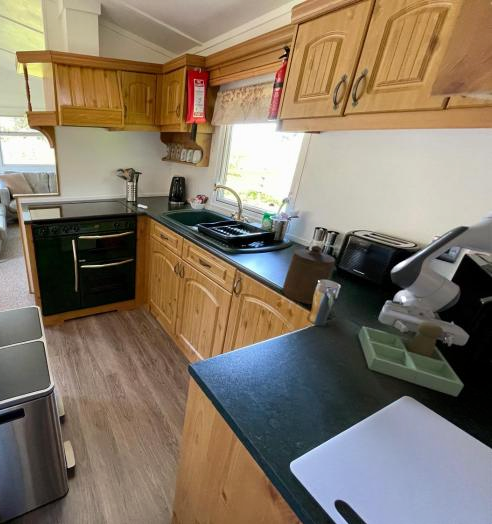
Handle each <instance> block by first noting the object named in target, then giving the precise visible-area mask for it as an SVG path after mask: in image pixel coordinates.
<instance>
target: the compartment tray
mask: <svg viewBox="0 0 492 524" xmlns="http://www.w3.org/2000/svg"><path fill="white" fill-rule="evenodd" d="M358 338H359V342H360V345H361V349H362V351H363V354H364V357H365V361H366V364H367V366H368V369H369V370H371V371H374V372H378V373H381V374H383V375H387V376H390V377H393V378H397V379H400V380H403V381H405V382H409V383H412V384H415V385H419V386H421V387H425V388H428V389H431V390H433V391H437V392H440V393H443V394H445V395H446V394H447V395H448V396H449V395H450V396H453V397H456V398H458V396H459V394H460V393H461V391H462V390H463V388H464V386H465V385H464V383H463V382H462V381H461V379H460V378H459V376H458V375H457V373H456V372H455V371H454V369H453V368H452V366H451V365H450V363H449V362H448V360H447V359H446V357H444V355H443V354H442V352H441V351H440V350H439V348H438V347H437V345H435V347H434V350H433V353H432V356H431V358H429V357H425V356H422V355H418V354H415V353H411V352H408V351H407V350H406V347H407V345H408V344H409V343H410V341H411V340H412V339H413V338H408V337H404V336H401V335H397V334H393V333H390V332H387V331H382V330H379V329H376V328H371V327H367V326H364V325H362V327H361V328H360V331H359V334H358Z"/></svg>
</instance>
